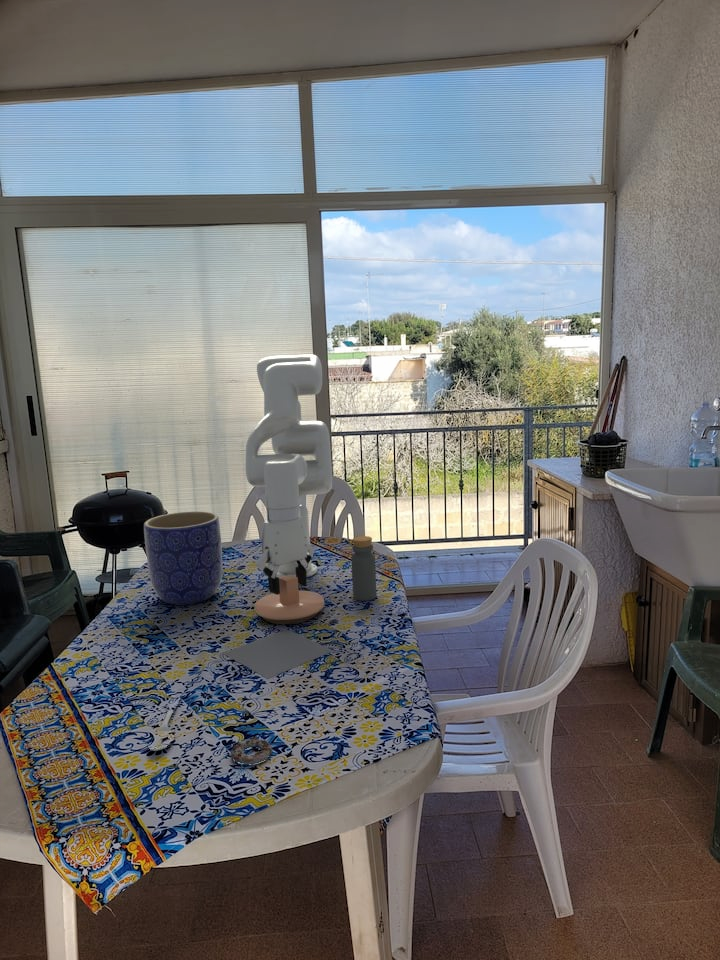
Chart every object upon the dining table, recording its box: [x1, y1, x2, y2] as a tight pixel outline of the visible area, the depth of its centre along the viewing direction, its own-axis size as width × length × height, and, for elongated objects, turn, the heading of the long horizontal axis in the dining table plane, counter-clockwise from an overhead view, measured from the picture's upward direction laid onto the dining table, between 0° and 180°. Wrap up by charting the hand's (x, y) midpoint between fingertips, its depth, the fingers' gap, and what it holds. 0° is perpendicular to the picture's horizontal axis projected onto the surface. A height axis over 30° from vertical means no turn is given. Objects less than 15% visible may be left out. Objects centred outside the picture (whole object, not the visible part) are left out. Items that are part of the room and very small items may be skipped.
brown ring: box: [262, 612, 319, 625], centre depth 152 cm, size 15×15×3 cm
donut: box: [230, 736, 273, 764], centre depth 98 cm, size 8×8×2 cm
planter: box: [143, 510, 223, 606], centre depth 166 cm, size 18×18×21 cm
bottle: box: [350, 535, 378, 602], centre depth 161 cm, size 6×6×15 cm
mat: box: [222, 629, 335, 680], centre depth 132 cm, size 16×16×1 cm
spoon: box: [148, 710, 174, 752], centre depth 109 cm, size 4×21×2 cm, turn 6°
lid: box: [254, 574, 325, 620], centre depth 151 cm, size 16×16×7 cm
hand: (288, 588), depth 151 cm, fingers open, 7 cm apart
